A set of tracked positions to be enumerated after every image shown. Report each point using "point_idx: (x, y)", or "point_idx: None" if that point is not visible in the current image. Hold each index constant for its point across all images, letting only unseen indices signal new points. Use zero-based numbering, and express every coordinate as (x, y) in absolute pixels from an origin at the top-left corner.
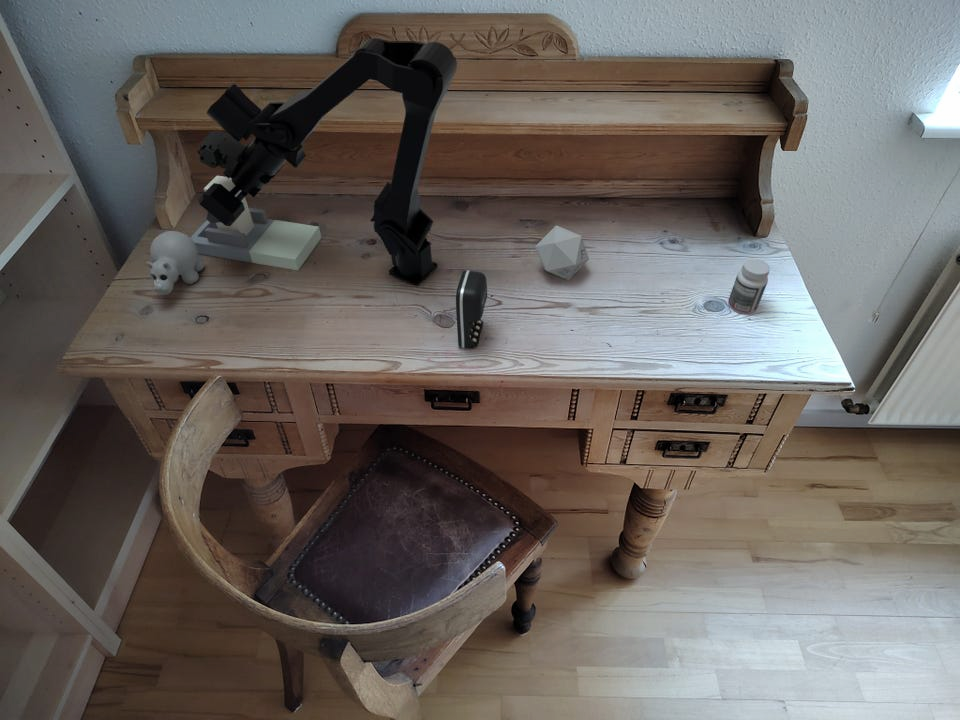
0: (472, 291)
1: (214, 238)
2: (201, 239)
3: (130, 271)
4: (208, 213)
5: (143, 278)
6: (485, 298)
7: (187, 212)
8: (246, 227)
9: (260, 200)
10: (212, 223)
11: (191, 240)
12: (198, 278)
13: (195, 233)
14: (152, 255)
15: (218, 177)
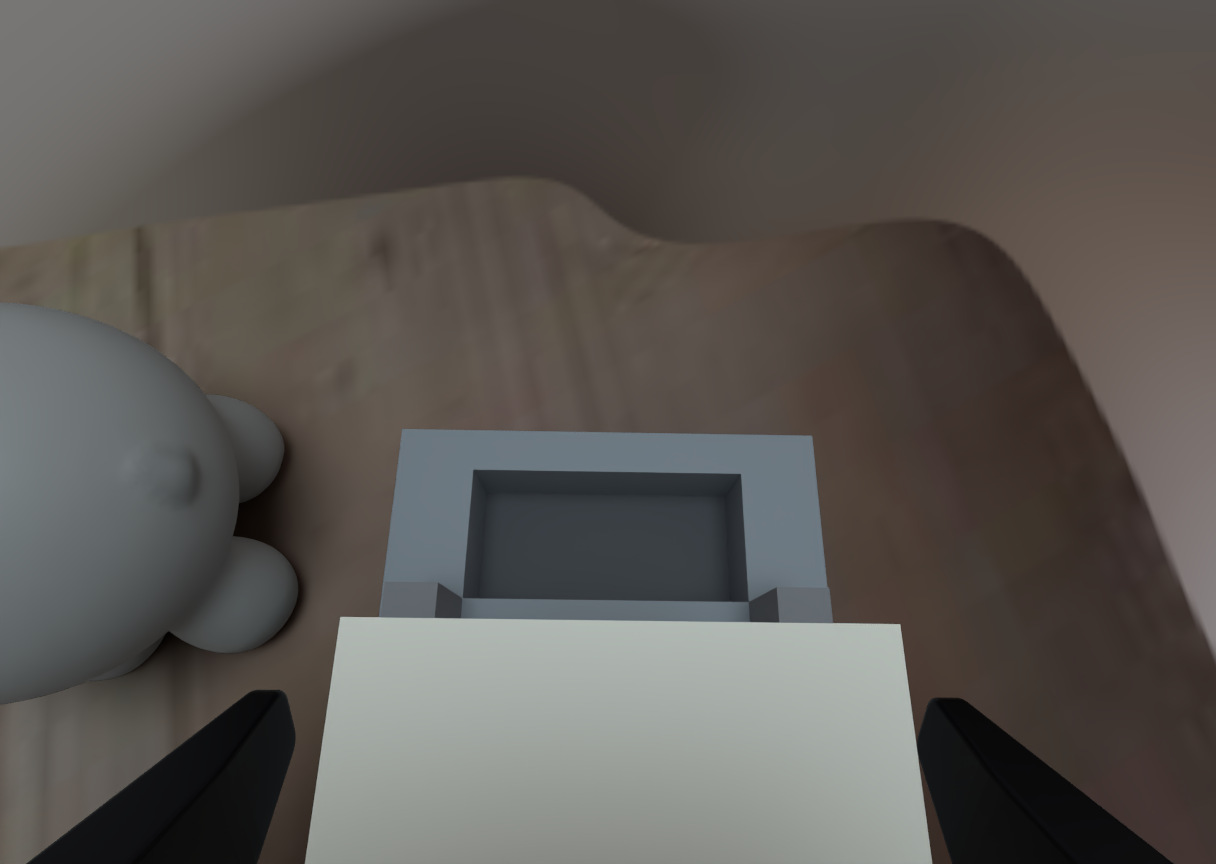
0: None
1: None
2: (440, 523)
3: (212, 226)
4: (68, 844)
5: (149, 321)
6: None
7: (805, 234)
8: None
9: (1128, 629)
10: (679, 480)
11: (17, 637)
12: (117, 676)
13: (505, 439)
14: None
15: (843, 707)
